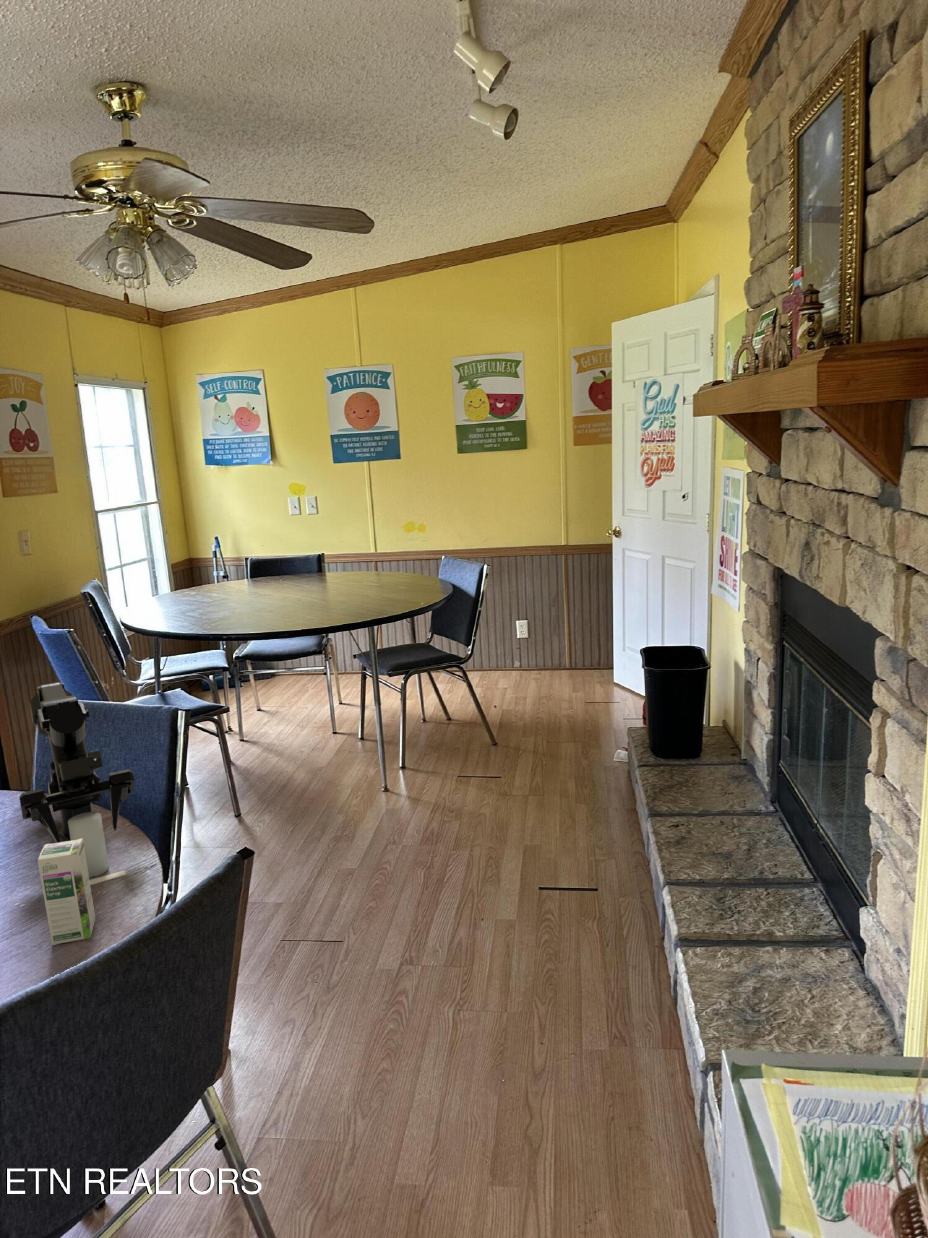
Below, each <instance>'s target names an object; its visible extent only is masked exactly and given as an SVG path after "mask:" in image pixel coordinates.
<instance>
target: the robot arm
mask: <svg viewBox="0 0 928 1238" xmlns="http://www.w3.org/2000/svg"><path fill="white" fill-rule="evenodd" d="M36 689H37V693H35V694H34V696H33V697H32V698H31V700H30V701H29V708H30V709H29V710H30V715H31V721H32V725H33V726H36V728H37V731H38V734H39V735H41V736H45V737H47V738H48V741H49V745H50V749H51V753H52V758H53V761H52V762H51V763H50V766H49V767H50V771H49V774H50V781H47V788H48V794H46V793H45V790H44V788H43V787H42V788H38V789H34V790H30V791H26V792H25V791H24V792H21V794H20V795H19V797H18V798H19V803H20V809H21V816H22V819H25V820H28V819H31V821H32V822H37V821H38V822H39V823H40V824H41V825H42V826H43V827H44V828H45V829H46V830H47V832H48V833H49V834H50V836H51V837H52V839H53V840H54V842H55V843H60V842H61V839H60V837H62V838H64V839H65V840H66V841H71V839H70V833H69V826H68V820H69V819H70V818H72V817H74V816H76V815H78V814H82V813H86V812H94V810H93V805H92V804H93V803H95V802H100V799H101V798H102V794H104V793H106V792H109V793H110V810H111V811H110V813H111V824H112V827H113V831H115V832H116V831H117V828H118V820H119V819H118V818H119V812H120V808H121V805H122V801H124V800H127V799H128V795H132V794H133V793H134V792H135V781H136V780H135V777H134V773H133V771H132V770H131V769H129V768H127V769H123V770H117V771H114V772H110V773H108V779H107V780H104V781H101V778H100V777H99V776H98V775H97V774H96V771H94V770H99V769H102V768H103V762H102V756H101V752H100V749H97V750H91V751H89V752H88V750H87V746H86V742H85V735H86V728H85V727H86V722H87V721H88V719H87V718H89V717H90V711H89V710H88V707H87V706H86V705H84V703H83V702H82V701H81V700H80V701H79V699H78V697H77V696H75V695H73V693H72V692H70V691H68V690H67V689H66V688H65V685H64V682H60V681H58V682H52V683H51V682H50V683H46V684H45V683H44V684H41V685H39V686H37V688H36ZM50 806H51V807H50ZM58 811H59V812H60V813H59V814H60V821H61V826H62V828H59V829H58V828H57V825H56V822H55V820H54V817H53V814H52V813H55V812H58Z"/></svg>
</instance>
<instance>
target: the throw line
mask: <svg viewBox="0 0 928 1238" xmlns="http://www.w3.org/2000/svg"><path fill="white" fill-rule="evenodd" d="M126 875H127V874H126V871H125V870H121V871H118V872H114V873H111V874H106V875H104V876H100V877H95V878H93V879H89V880H90V886H94V885H96V884H100V883H103V882H108V881H110V880H113V879H114V880H115V879H118V878H122V877H125V876H126Z"/></svg>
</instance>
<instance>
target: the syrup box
mask: <svg viewBox="0 0 928 1238" xmlns="http://www.w3.org/2000/svg"><path fill="white" fill-rule="evenodd" d="M37 866H38V872H39V873H38V874H39V877H40V883H41V888H42V889H41V890H42V895H43V898H44V904H45V905H44V906H45V911H46V917H47V922H48V927H49V928H48V929H49V937H50V942H51V945H52V946H56V945H59V944H65V943H71V942H76V941H81V940H89V939H91V938H92V933H93V930H94V927H95V926H94V925H95V923H96V915H95V909H94V900H93V896H92V894H93V893H92V888H91V885H90V880H91V879H90V878H89V874H88V868H87V862H86V855H85V849H84V842H83V838H81V839H78V840H73V841H68V840H66V841H60V843H56V842H55V843H46V844H44V845H43V847H42V849H41V851H40V853H39V856H38V858H37Z"/></svg>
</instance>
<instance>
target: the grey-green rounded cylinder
mask: <svg viewBox="0 0 928 1238" xmlns="http://www.w3.org/2000/svg"><path fill="white" fill-rule="evenodd" d="M102 818H103V817H102V814H101V813H99V812H97V811H93V812H86V813H82V814H78V815H76V816H74V817H72V818H70V819H69V820H68V826H69V833H70V839H71V841H73V840H78V839H81V838H83V842H84V849H85V855H86V862H87V868H88V874H89V879H91V878H94V877H93V876H95V877H98V876H100V875H102V874H105V872H107V871H108V869H109V860H108V859H109V858H108V852H107V846H106V840H105V839H106V838H105V833H104V826H103V819H102Z"/></svg>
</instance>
